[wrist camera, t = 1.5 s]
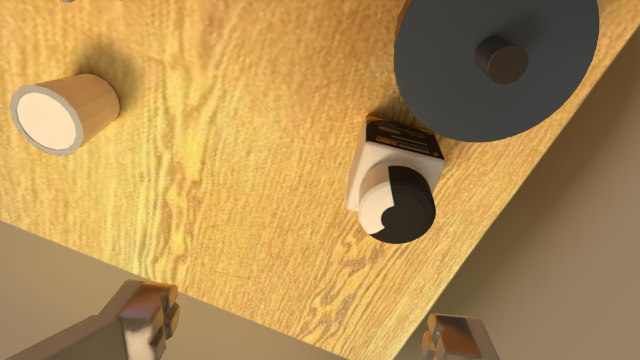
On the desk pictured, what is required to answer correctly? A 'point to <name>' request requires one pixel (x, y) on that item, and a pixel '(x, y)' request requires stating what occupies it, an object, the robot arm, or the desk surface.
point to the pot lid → (492, 62)
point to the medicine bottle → (394, 180)
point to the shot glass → (64, 112)
